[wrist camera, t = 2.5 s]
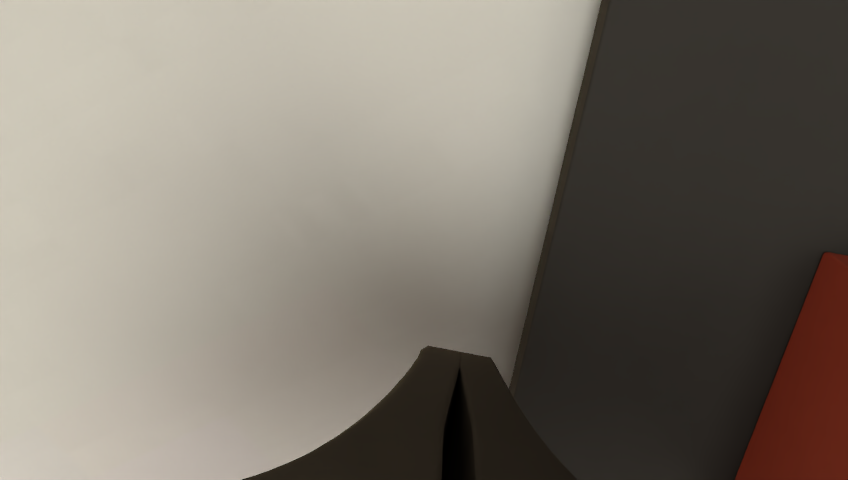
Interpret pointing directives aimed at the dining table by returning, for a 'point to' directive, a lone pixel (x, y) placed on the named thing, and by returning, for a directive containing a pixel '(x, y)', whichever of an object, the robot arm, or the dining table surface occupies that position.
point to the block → (808, 391)
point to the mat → (685, 232)
